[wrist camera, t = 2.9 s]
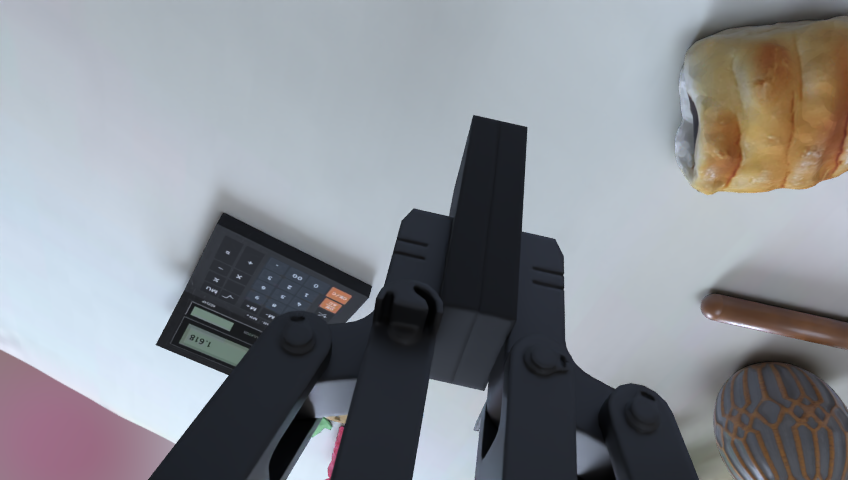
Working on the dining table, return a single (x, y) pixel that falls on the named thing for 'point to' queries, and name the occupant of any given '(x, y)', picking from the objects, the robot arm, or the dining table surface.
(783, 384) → the vase
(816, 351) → the dining table surface
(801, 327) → the wooden spoon
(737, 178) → the pastry
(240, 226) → the calculator
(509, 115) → the dining table surface
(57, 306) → the dining table surface
